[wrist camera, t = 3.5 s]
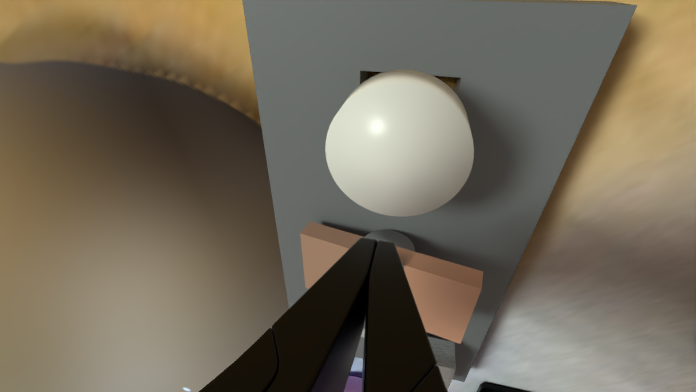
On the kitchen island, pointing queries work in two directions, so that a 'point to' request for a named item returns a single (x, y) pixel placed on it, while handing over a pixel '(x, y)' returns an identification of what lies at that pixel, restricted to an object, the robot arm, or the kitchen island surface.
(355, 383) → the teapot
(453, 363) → the small grey block
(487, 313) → the panel
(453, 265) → the rocker
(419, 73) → the button
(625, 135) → the kitchen island surface
